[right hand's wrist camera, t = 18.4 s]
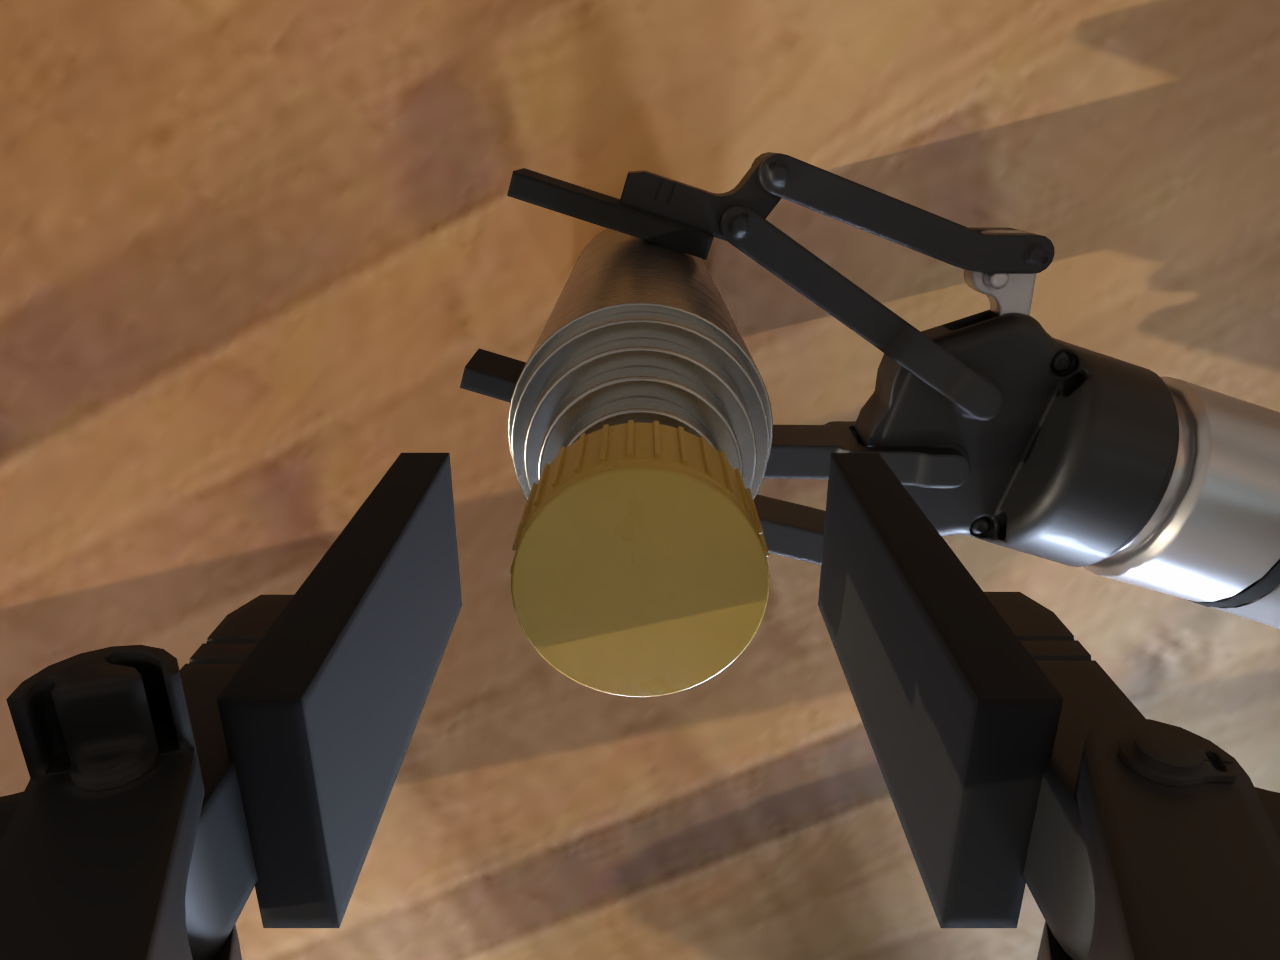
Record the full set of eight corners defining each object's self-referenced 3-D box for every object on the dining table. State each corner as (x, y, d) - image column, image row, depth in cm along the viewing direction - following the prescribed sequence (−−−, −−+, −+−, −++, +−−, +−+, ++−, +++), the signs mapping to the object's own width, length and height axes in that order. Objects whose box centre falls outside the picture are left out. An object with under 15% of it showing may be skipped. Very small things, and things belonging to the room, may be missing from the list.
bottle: (680, 198, 35) (761, 321, 12) (728, 331, 37) (878, 663, 14) (549, 251, 36) (379, 467, 13) (602, 379, 38) (541, 772, 14)
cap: (720, 648, 15) (732, 723, 13) (505, 602, 15) (485, 672, 13) (784, 447, 14) (808, 498, 12) (549, 393, 14) (534, 436, 12)
